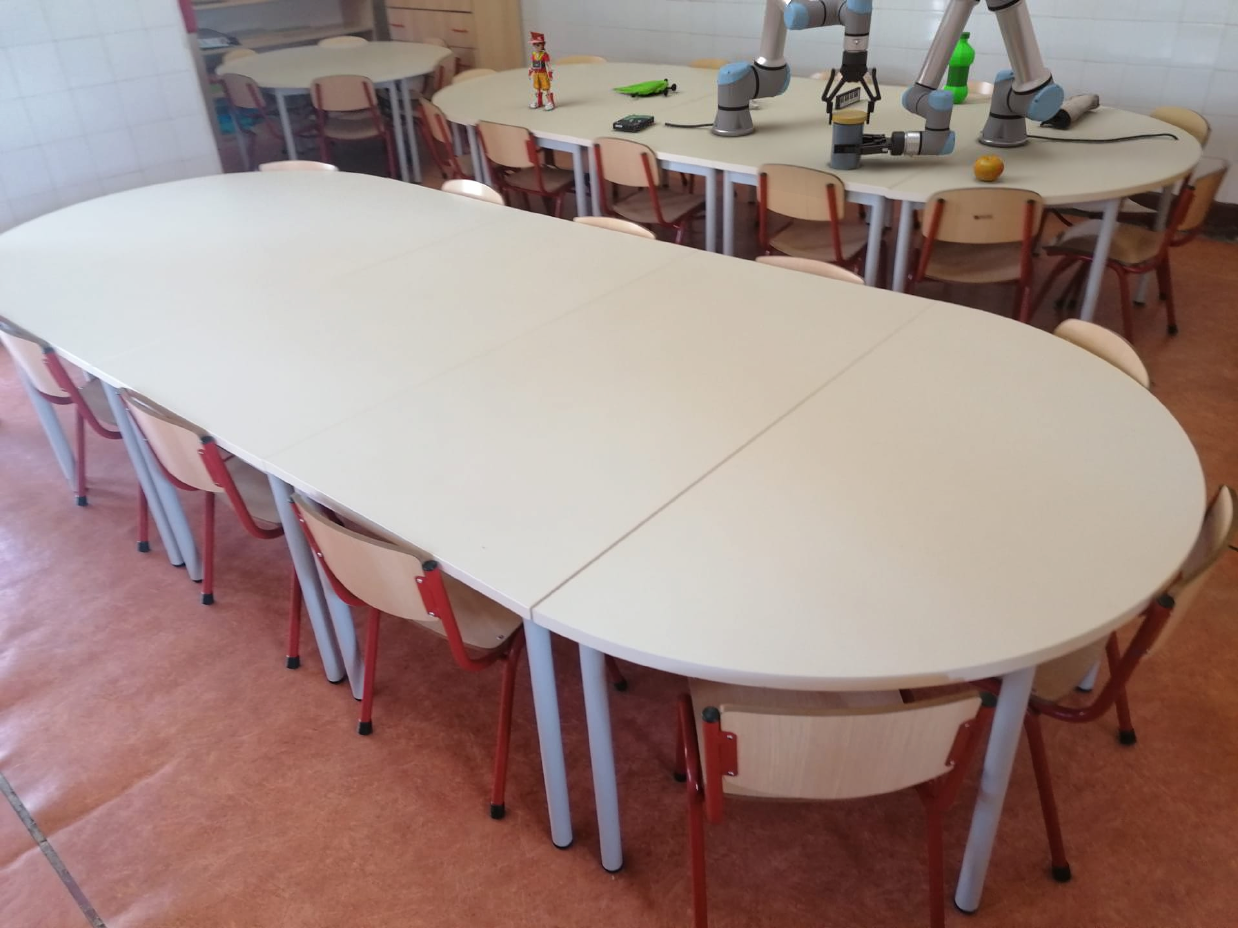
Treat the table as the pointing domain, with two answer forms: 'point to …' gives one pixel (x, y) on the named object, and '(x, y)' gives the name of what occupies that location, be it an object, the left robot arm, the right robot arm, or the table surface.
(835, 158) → the jar
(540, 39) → the toy
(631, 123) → the disk drive
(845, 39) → the left robot arm
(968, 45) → the plastic bottle
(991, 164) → the fruit
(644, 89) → the toy
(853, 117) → the lid
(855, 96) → the midi keyboard
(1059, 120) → the rolled mat
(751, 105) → the anatomical model
